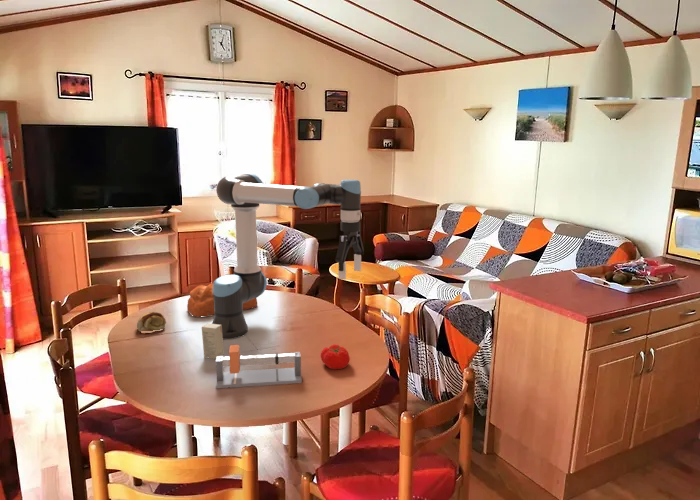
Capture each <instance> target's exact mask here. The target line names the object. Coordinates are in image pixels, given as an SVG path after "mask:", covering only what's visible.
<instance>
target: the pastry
mask: <svg viewBox="0 0 700 500" xmlns="http://www.w3.org/2000/svg"><path fill="white" fill-rule="evenodd" d="M138 318H139V319H138V320H137V322H136V329H137V328H138V329H137V331H138V332H139V331H153V330H160V329H163V328H164V327H165V326H166V324H167V321H166V317H164V315H163V314H162V313H160V312H157V311H156V312H155V311H152V312H151V311H150V312H146V313H143V314H142V315H141V316H140V317H138ZM164 329H165V328H164ZM164 329H163V330H164Z"/></svg>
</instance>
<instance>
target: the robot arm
mask: <svg viewBox="0 0 700 500" xmlns="http://www.w3.org/2000/svg"><path fill="white" fill-rule="evenodd" d="M361 186H362V185H361V181H360V180H359V179H342V180H340V184H332V183H323V182H321V183H314V184H313V186H303V185H302V186H299V185H286V184H283V185H282V184H268V183H264V182H263V181H262V179H261V178H260V177H259V176H258V175H256V174H254V173H247V172H246V173H238V174H233V175H232V174H231V175H226V176H223V177H221V179H219V181H218V183H217V185H216V190H215V191H216V195H217V197H218V199H219V200H220V201H221V202H222V203H223V204H226V205H230V207H231V208H232V209H233V210H234V214H235V217H234V218H235V240H236V264H237V265H236V266H235V267H234V269H233V274H227V275H221V276H219V277H217V278H216V279H214V281H213V283H212V284H213V301H214V315H213V319H212V323H211V324H219V325H222V336H223V340H228V339H229V340H230V339H231V340H232V339H237V338H241V337H243V335H244V336H245V335H247V334H248V332H249V326H248V324H247V322H246V318H245V316H244V310H243V303H245V302H247V301H250V300H252V299H255V298H256V299H257V298H259V296H261V295H263V294H264V292H265V291H266V289H267V286H268V285H267V284H268V282H267V278H266V276H265V273H263V271H262V267H260V266H259V265H258V240H257V239H258V236H257V234H258V233H257V232H258V230H257V210H258V209H259V207H260V205H261V204H263V205H274V206H287V207H297V208H300V209H303V210H308V209H309V210H310V209H313V208H316V207H321V206H324V205H327V204H328V205H340V220H341V221H340V231H341V232H343V235H339V237H338V238H339V241H338V246H337V250H336V251H337V252H336V256H335V262H336V263H338V279H339V280H344V281H345V280H347V262H346V258H347V256H348V253H349V249H350V248H351V247H352V248H353V251H354V254H353V259H354V260H353V271H354V272H355V271H356V272H361V271H362V255H363V256H364V254H365V253H364V251H365V248H364V244H363V241H362V240H363V239H362V235H361V234H362V231H361V221H360V220H361V215H362V212H361V199H362V191H361V190H362V189H361V188H362V187H361Z"/></svg>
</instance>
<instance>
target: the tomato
mask: <svg viewBox="0 0 700 500" xmlns="http://www.w3.org/2000/svg"><path fill="white" fill-rule="evenodd" d="M320 359H321V361H322V363H323V364H324V365H325V366H326V367H327V368H328V369H332V370H342V369H344V368H346V367H347V366H348V365H349V363H350V360H351V358H350V355H349V351H348V350H347V348H345V347H344V346H340V345H339V344H331V345H330V346H329V347H324V348H323V349H322V350H321V352H320Z"/></svg>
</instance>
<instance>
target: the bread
mask: <svg viewBox="0 0 700 500" xmlns="http://www.w3.org/2000/svg"><path fill="white" fill-rule="evenodd" d="M186 307H187V311H188V313H189V312H190V313H191V314H190V313H189V314H190V315H191V316H192V315H193V316H192V317H194V316H196V317H197V318H202V317H201V316H206V317H209V316H208V315H212V316H214V301H213V283H208V285H205V284H199V285H197V286H196V287H194V288H193V289H192V290H191V291H190V292H189V298H188V300H187V305H186ZM257 307H258V300H257V298H255V299H252V300H250V301H247V302H245V303H243V311H246V310H245V309H247V310H250V308H251V309H254V308H257ZM196 317H195V318H196Z"/></svg>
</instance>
